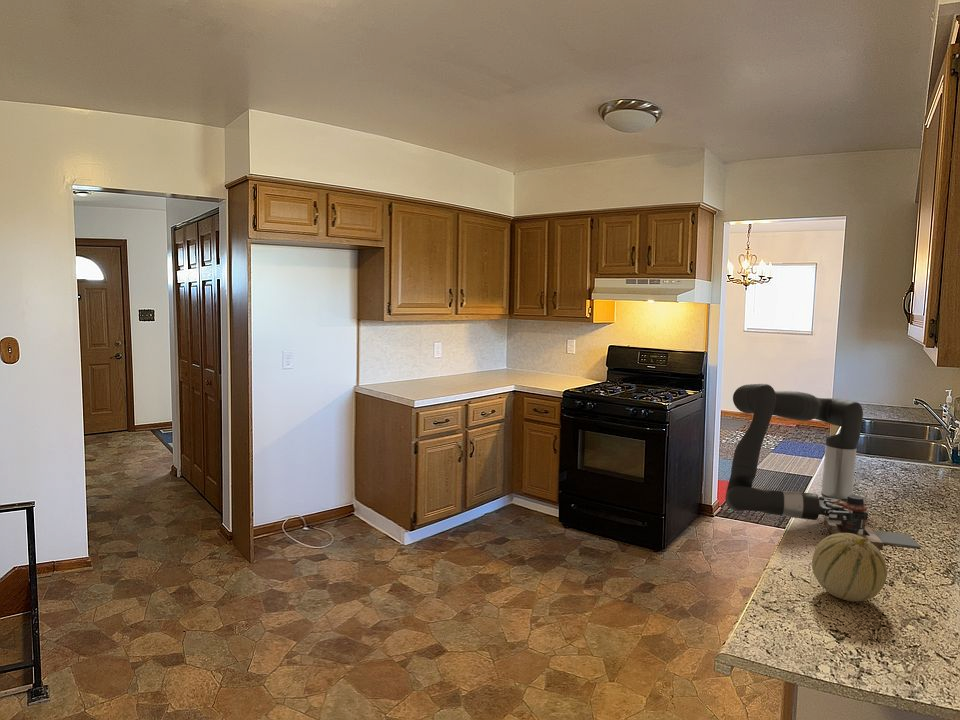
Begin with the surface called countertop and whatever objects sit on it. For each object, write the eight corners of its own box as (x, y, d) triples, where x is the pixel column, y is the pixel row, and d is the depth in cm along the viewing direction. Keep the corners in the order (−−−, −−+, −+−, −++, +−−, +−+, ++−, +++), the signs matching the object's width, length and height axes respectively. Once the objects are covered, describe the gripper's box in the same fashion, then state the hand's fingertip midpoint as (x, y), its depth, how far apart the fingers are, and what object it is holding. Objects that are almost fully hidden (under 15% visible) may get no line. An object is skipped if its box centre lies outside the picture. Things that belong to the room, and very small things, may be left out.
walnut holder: (824, 522, 190) (824, 517, 189) (865, 527, 187) (865, 522, 186) (837, 542, 174) (838, 537, 174) (882, 548, 171) (883, 542, 171)
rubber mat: (872, 532, 183) (872, 530, 183) (908, 536, 180) (908, 534, 180) (882, 543, 174) (882, 542, 174) (920, 548, 172) (920, 546, 172)
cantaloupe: (816, 576, 153) (822, 517, 151) (887, 596, 144) (894, 533, 142) (802, 598, 142) (807, 534, 140) (878, 621, 133) (885, 553, 131)
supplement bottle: (867, 539, 177) (871, 501, 176) (844, 537, 178) (848, 499, 177) (859, 531, 183) (863, 494, 181) (836, 529, 184) (840, 492, 183)
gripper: (805, 500, 176) (873, 507, 172) (795, 485, 190) (857, 491, 185) (803, 526, 177) (870, 534, 173) (793, 509, 191) (855, 516, 186)
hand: (863, 512), depth 179 cm, fingers closed on supplement bottle, 6 cm apart
